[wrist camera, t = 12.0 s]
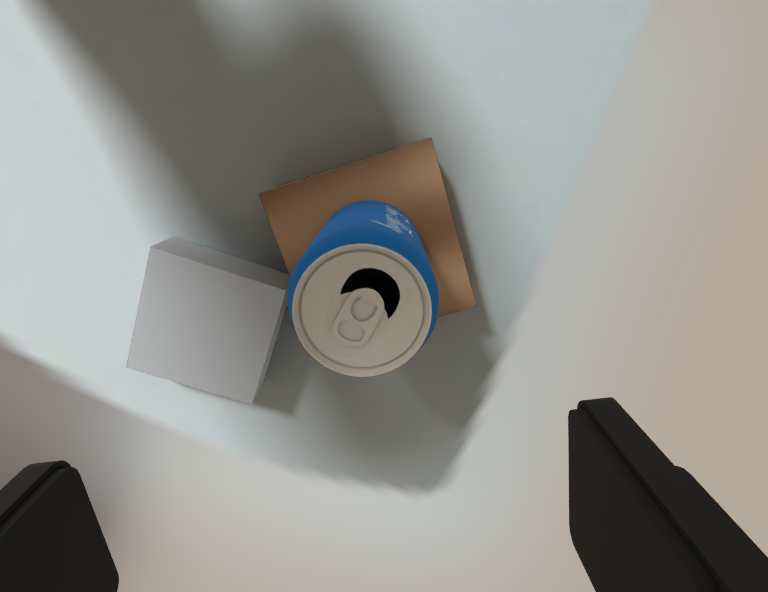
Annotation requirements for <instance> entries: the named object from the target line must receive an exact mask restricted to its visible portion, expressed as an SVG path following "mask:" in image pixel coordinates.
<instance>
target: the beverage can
mask: <svg viewBox="0 0 768 592" xmlns="http://www.w3.org/2000/svg"><path fill="white" fill-rule="evenodd" d="M287 306H288V312H289V317H290V320H291V323H292V326H293V328H294V330H295V332H296V334H297V336H298V338H299V340H300V342H301V343H302V345H303V347H304V348H305V349H306V351H307V352H308V353H309V354H310V355H311V356H312V357H313V358H314V359H315V360H316V361H318V362H319V363H320V364H322V365H323V366H325V367H327V368H328V369H330V370H333V371H335V372H337V373H340V374H344V375H348V376H355V377H369V376H376V375H381V374H384V373H387V372H390V371H392V370H394V369H396V368H398V367H400V366H401V365H403V364H405V363H406V362H407V361H408V360H409V359H411V358H412V357H413V356H414V355H415V353H416V352H417V351H418V350H419V349H420V348H421V347H422V346H423V345H424V344H425V342H426V341H427V339H428V338H429V336H430V334H431V332H432V330H433V328H434V325H435V323H436V320H437V315H438V311H439V291H438V286H437V281H436V279H435V276H434V273H433V270H432V268H431V265H430V263H429V260H428V257H427V255H426V252H425V250H424V247H423V244H422V242H421V239H420V236H419V234H418V231H417V229H416V228H415V226H414V224H413V223H412V221H411V220H410V219H409V218H408V217H407V216H406V215H405V214H404V213H403V212H402V211H401V210H399V209H398V208H396V207H394V206H392V205H390V204H387V203H384V202H381V201H375V200H365V201H358V202H354V203H351V204H348V205H346V206H344V207H343V208H341V209H339V210H338V211H337V212H335V213H334V214H333V215H332V216H331V217H330V218H329V220H328V221H327V222H326V224H325V225H324V226H323V228H322V229H321V230H320V232H319V233H318V235H317V236H316V237H315V239H314V240H313V242H312V243H311V244H310V246H309V247H308V248H307V250H306V251H305V253H304V254H303V255H302V257H301V258H300V260H299V261H298V263H297V265H296V266H295V268H294V270H293V273H292V275H291V278H290V282H289V286H288V293H287Z"/></svg>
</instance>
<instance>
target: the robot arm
mask: <svg viewBox="0 0 768 592" xmlns="http://www.w3.org/2000/svg"><path fill="white" fill-rule="evenodd" d="M568 422H569V423H568V430H569V526H570V533H571V537H572V541H573V544H574V547H575V549H576V551H577V553H578V555H579V557H580V559H581V561H582V563H583V566H584V568H585V570H586V572H587V574H588V576H589V578H590V580H591V583H592V585H593V587H594V589H595V591H596V592H768V557H767V556H766V555H765V554H764V553H763V552H762V551H761V550H760V549H759V548H758V547H757V545H756V544H755V543H754V542H753V541H752V540H751V539H750V538H749V537H748V536H747V535H746V534H745V533H744V532H743V530H742V529H741V528H740V527H739V526H738V525H737V524H736V523H735V522H734V521H733V520H732V518H731V517H730V516H729V515H728V514H727V513H726V512H725V511H724V510H723V509H722V508H721V507H720V505H719V504H718V503H717V502H716V501H715V500H714V499H713V498H712V497H711V496H710V495H709V494H708V492H707V491H706V490H705V489H704V488H703V487H702V486H701V485H700V484H699V483H698V482H697V481H696V479H695V478H694V477H693V476H692V475H691V474H690V473H688V472H687V471H686V470H685V469H684V468H681V467H678V466H674V465H673V463H672V462H670V460H669V459H668V458H667V457H666V456H665V455H664V453H663V452H662V451H661V450H660V449H659V448H658V447H657V446H656V445H655V443H654V442H653V441H652V440H651V439H650V438H649V437H648V436H647V435H646V433H645V432H644V431H643V430H642V429H641V428H640V427H639V426H638V425H637V423H636V422H635V421H634V420H633V419H632V418H631V417H630V416H629V415H628V414H627V412H626V411H625V410H624V409H623V408H622V407H621V406H620V405H619V403H617V401H616V400H615V399H613V398H600V399H592V400H583V401H580V402H579V403H578V406H577V409H575V410H570V411H569V416H568ZM118 583H119V576H118V572H117V570H116V567H115V564H114V562H113V559H112V557H111V554H110V552H109V549H108V547H107V544H106V541H105V538H104V536H103V533H102V531H101V528H100V525H99V523H98V521H97V518H96V515H95V513H94V510H93V507H92V505H91V502H90V500H89V497H88V495H87V492H86V489H85V487H84V484H83V481H82V479H81V476H80V474H79V472H78V470H77V469H75V468H73V467H71V466H70V464H68V463H67V462H66V461H53V462H45V463H35V464H31V465H28V466H27V467H25V468H24V469H23V470H22V471H20V472H19V473H18V474H17V475H16V476H15V477H14V478H13V479H12V480H11V481H10V482H9V483H8V484H6V485H5V486H4V487H3V488H2V489H1V490H0V592H117V589H118Z"/></svg>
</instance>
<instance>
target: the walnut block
mask: <svg viewBox="0 0 768 592" xmlns="http://www.w3.org/2000/svg"><path fill="white" fill-rule="evenodd" d="M259 196H260V199H261V201H262V204H263V207H264V209H265V212H266V214H267V217H268V220H269V222H270V225H271V228H272V230H273V233H274V235H275V238H276V241H277V243H278V246H279V249H280V251H281V254H282V256H283V259H284V262H285V264H286V267H287V270H288V272H289V275H290V277H291V275H292V273H293V270H294V268H295V266H296V265H297V263H298V261H299V260H300V258H301V257H302V255H303V254H304V253H305V251H306V250H307V248H308V247H309V246H310V244H311V243H312V242H313V240H314V239H315V237H316V236H317V235H318V233H319V232H320V230H321V229H322V228H323V226H324V225H325V224H326V222H327V221H328V220H329V218H330V217H331V216H332V215H333V214H334V213H335V212H337V211H338V210H339V209H341V208H343V207H344V206H346V205H348V204H351V203H354V202H358V201H365V200H375V201H381V202H384V203H387V204H390V205H392V206H394V207H396V208H398V209H399V210H401V211H402V212H403V213H404V214H405V215H406V216H407V217H408V218H409V219H410V220H411V221H412V223H413V224H414V226H415V228H416V229H417V231H418V234H419V236H420V239H421V242H422V244H423V247H424V250H425V252H426V255H427V257H428V260H429V263H430V265H431V268H432V270H433V273H434V276H435V279H436V281H437V286H438V291H439V311H438V315H437V317H439V316H443V315H446V314H450V313H453V312H456V311H460V310H463V309H467V308H470V307H474V306H476V303H475V299H474V296H473V292H472V288H471V284H470V281H469V277H468V273H467V269H466V266H465V262H464V258H463V254H462V251H461V247H460V243H459V239H458V236H457V232H456V228H455V224H454V221H453V217H452V213H451V209H450V206H449V202H448V198H447V194H446V191H445V187H444V183H443V180H442V176H441V172H440V168H439V165H438V161H437V157H436V153H435V150H434V146H433V142H432V138H427V139H423V140H420V141H417V142H414V143H411V144H408V145H405V146H402V147H398V148H395V149H392V150H389V151H386V152H383V153H380V154H377V155H374V156H371V157H368V158H364V159H361V160H358V161H355V162H352V163H349V164H346V165H343V166H340V167H337V168H334V169H330V170H327V171H324V172H321V173H318V174H315V175H312V176H309V177H306V178H303V179H300V180H296V181H293V182H290V183H287V184H284V185H281V186H278V187H275V188H272V189H269V190H267V191H265V192H262V193H260V194H259Z"/></svg>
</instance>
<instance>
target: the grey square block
mask: <svg viewBox="0 0 768 592" xmlns="http://www.w3.org/2000/svg"><path fill="white" fill-rule="evenodd" d="M290 278H291V277H290V275H289V274H287V273H284V272H281V271H278V270H275V269H272V268H269V267H266V266H263V265H260V264H257V263H254V262H251V261H248V260H245V259H242V258H239V257H236V256H232V255H229V254H226V253H223V252H220V251H217V250H214V249H211V248H208V247H205V246H202V245H199V244H196V243H193V242H190V241H187V240H184V239H181V238H177V237H172V238H169V239H167V240H165V241H163V242H160V243H158V244H156V245H154V246H151V247H150V252H149V257H148V262H147V267H146V271H145V276H144V281H143V286H142V291H141V296H140V301H139V306H138V311H137V316H136V320H135V325H134V330H133V335H132V340H131V345H130V350H129V355H128V360H127V365H126V368H129V369H133V370H136V371H139V372H143V373H146V374H150V375H153V376H156V377H160V378H163V379H166V380H170V381H173V382H177V383H180V384H183V385H187V386H190V387H193V388H197V389H200V390H204V391H207V392H210V393H214V394H217V395H220V396H224V397H227V398H231V399H234V400H237V401H241V402H244V403H247V404H251V405H252V404H253V402H254V400H255V398H256V396H257V394H258V392H259V390H260V388H261V386H262V384H263V382H264V379H265V376H266V373H267V369H268V366H269V363H270V359H271V356H272V353H273V349H274V346H275V343H276V339H277V336H278V333H279V329H280V326H281V323H282V319H283V316H284V313H285V309H286V306H287V293H288V286H289V282H290Z"/></svg>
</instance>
